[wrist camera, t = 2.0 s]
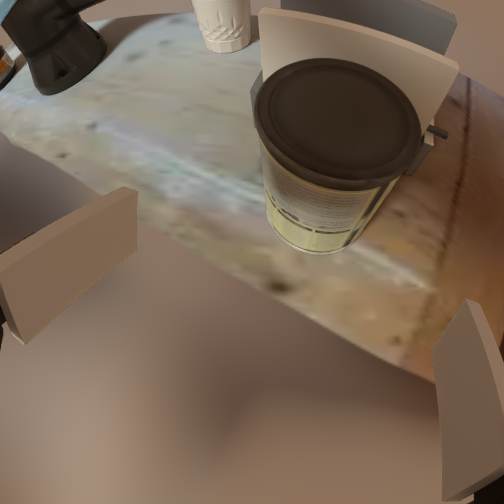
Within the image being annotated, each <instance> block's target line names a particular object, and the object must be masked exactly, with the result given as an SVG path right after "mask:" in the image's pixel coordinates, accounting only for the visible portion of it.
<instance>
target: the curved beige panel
mask: <svg viewBox="0 0 504 504" xmlns="http://www.w3.org/2000/svg"><path fill="white" fill-rule="evenodd" d="M258 23H259V35H260V47H261V59H262V72H263V83H264V81H265V80H266V79H267V78H268V77H269V76H270V75H272V74H273V73H274V72H275V71H277V70H279V69H280V68H282V67H284V66H286V65H289V64H291V63H294V62H297V61H301V60H305V59H312V58H334V59H342V60H347V61H351V62H355V63H358V64H361V65H364V66H366V67H368V68H370V69H372V70H374V71H376V72H378V73H380V74H381V75H383V76H385V77H386V78H388V79H389V80H390V81H392V82H393V83H394V84H395V85H396V86H398V88H400V89H401V90H402V91H403V92H404V94H405V95H406V96H407V97H408V98H409V100H410V102H411V103H412V105H413V107H414V108H415V110H416V113H417V115H418V118H419V121H420V125H421V130H422V136H423V134H424V133H425V131H428V132H430V133H432V134H434V135H437V136H439V137H441V138H443V139H447V138H448V132H446V131H444V130H442V129H439V128H437V127H435V126H433V125H430V123H431V121H432V119H433V118H434V116H435V114H436V112H437V111H438V109H439V107H440V106H441V104H442V102H443V100H444V99H445V97H446V95H447V93H448V91H449V90H450V88H451V86H452V84H453V82H454V80H455V79H456V77H457V75H458V73H459V71H460V70H459V65H458V63H457V62H455V61H453V60H451V59H449V58H447V57H445V56H443V55H441V54H438V53H436V52H434V51H431V50H429V49H427V48H424V47H422V46H419V45H417V44H414V43H412V42H409V41H407V40H404V39H401V38H398V37H395V36H393V35H390V34H387V33H384V32H381V31H377V30H374V29H371V28H368V27H364V26H361V25H357V24H353V23H349V22H346V21H342V20H337V19H333V18H329V17H324V16H319V15H314V14H309V13H303V12H297V11H291V10H284V9H277V8H269V7H262V8H261V9H260V11H259V12H258Z"/></svg>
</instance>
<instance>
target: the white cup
mask: <svg viewBox="0 0 504 504" xmlns="http://www.w3.org/2000/svg"><path fill="white" fill-rule="evenodd" d="M191 2H192V6H193V9H194V12H195V15H196V18H197V21H198V25H199V27H200V30H201V33H202V34H203V37H204V40H205V43H206V46H207V48H208V49H209V50H211V51H212V52H217V53H231V52H235V51H238V50H241V49H243V48H244V47H246V46H247V45H248V44H249V42H250V40H251V32H250V25H251V19H250V14H251V13H250V0H191Z"/></svg>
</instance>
